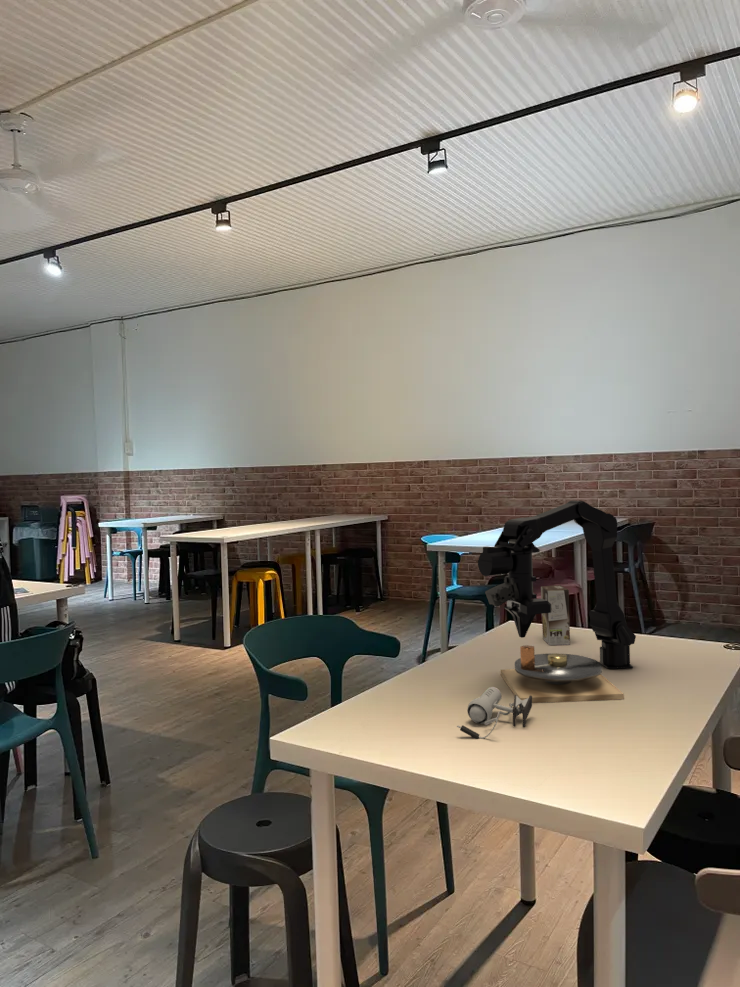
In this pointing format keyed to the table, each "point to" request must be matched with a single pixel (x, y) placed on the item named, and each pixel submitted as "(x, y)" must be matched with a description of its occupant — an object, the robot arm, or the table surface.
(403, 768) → the table surface
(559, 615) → the coffee box
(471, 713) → the clip-on lamp
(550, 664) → the handwheel
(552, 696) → the board
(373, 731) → the table surface
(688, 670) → the table surface
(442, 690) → the table surface
